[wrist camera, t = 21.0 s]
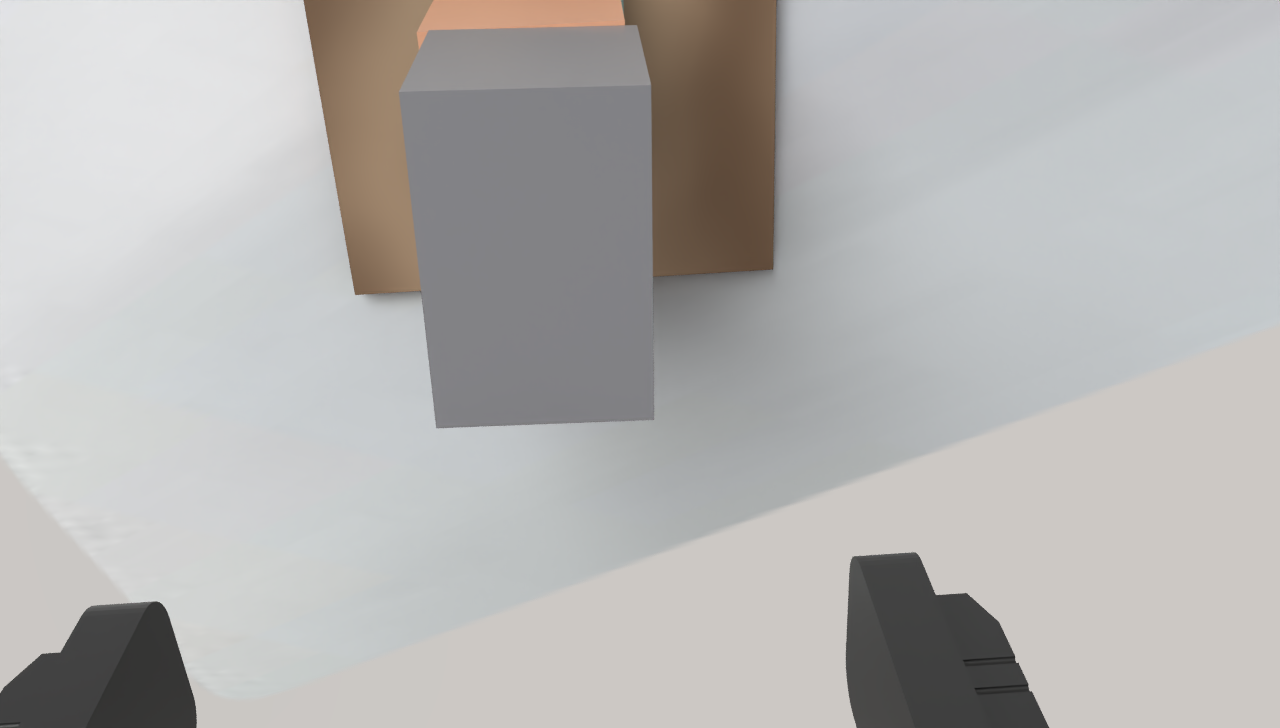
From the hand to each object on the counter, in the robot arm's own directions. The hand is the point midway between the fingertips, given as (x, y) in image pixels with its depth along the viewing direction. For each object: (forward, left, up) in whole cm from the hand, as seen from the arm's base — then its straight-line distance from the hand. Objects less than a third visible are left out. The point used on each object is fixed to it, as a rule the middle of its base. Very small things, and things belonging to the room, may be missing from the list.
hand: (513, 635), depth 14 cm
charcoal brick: (0, 0, -15) cm, 15 cm away
